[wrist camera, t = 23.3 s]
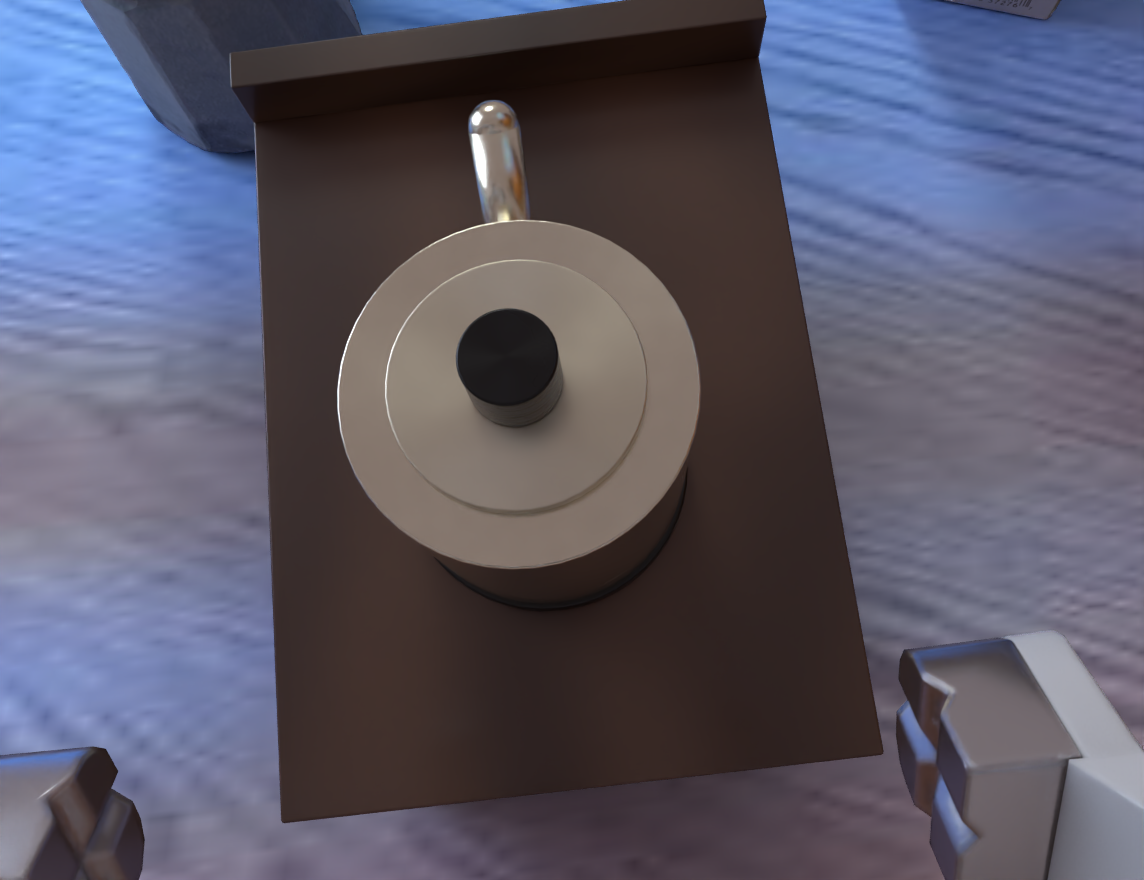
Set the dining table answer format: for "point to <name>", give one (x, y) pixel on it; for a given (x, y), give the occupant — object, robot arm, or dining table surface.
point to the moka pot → (207, 55)
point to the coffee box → (1017, 6)
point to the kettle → (523, 398)
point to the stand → (717, 462)
